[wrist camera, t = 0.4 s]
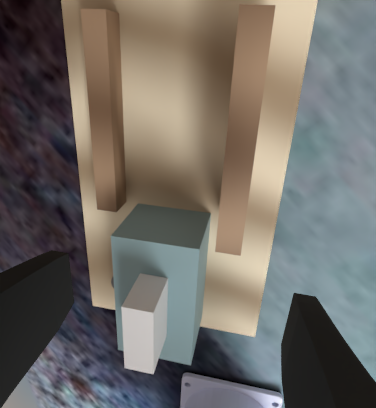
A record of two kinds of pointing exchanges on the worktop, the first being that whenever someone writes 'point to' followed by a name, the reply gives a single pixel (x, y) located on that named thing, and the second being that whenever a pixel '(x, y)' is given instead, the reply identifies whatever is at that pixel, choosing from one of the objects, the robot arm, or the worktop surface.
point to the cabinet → (159, 284)
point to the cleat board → (188, 128)
